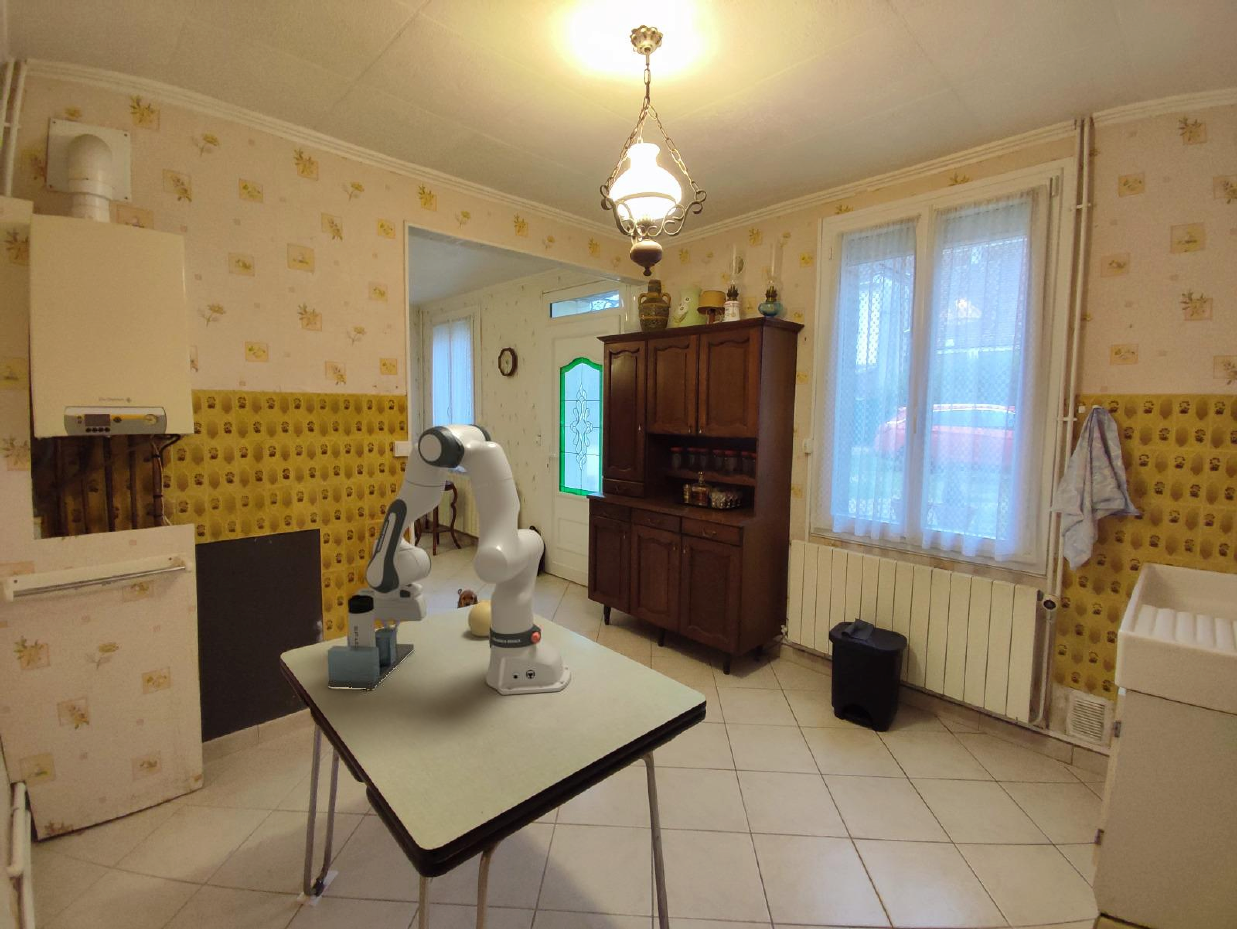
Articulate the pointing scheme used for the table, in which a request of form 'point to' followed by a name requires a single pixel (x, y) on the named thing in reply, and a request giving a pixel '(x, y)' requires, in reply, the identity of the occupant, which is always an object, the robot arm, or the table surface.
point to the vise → (360, 665)
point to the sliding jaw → (385, 645)
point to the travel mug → (361, 621)
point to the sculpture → (480, 618)
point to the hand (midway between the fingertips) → (391, 634)
